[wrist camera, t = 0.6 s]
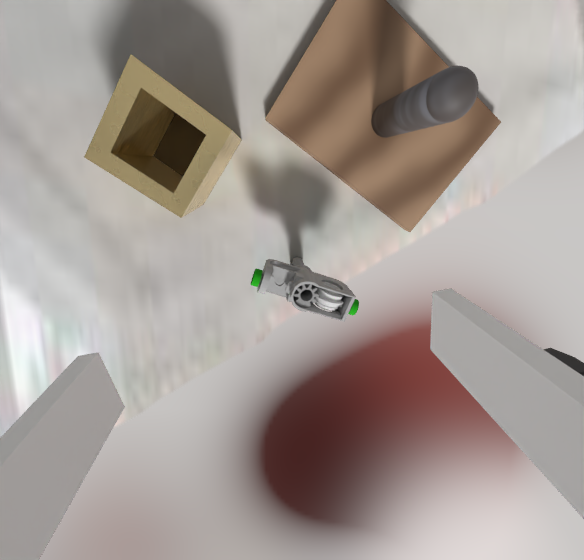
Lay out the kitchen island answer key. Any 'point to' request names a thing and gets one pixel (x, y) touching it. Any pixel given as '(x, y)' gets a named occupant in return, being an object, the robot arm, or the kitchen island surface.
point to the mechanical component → (306, 288)
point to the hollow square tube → (158, 140)
